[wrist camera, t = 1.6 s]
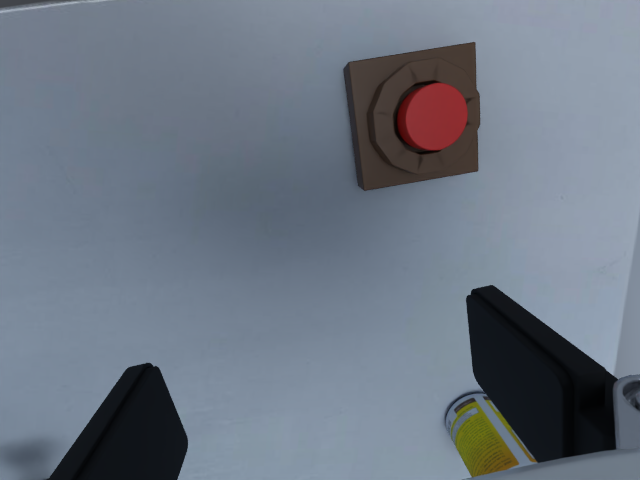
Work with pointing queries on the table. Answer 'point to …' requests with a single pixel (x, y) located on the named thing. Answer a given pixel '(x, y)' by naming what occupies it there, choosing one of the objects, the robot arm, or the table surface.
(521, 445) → the supplement bottle
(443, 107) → the red button
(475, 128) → the button block
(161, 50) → the table surface
